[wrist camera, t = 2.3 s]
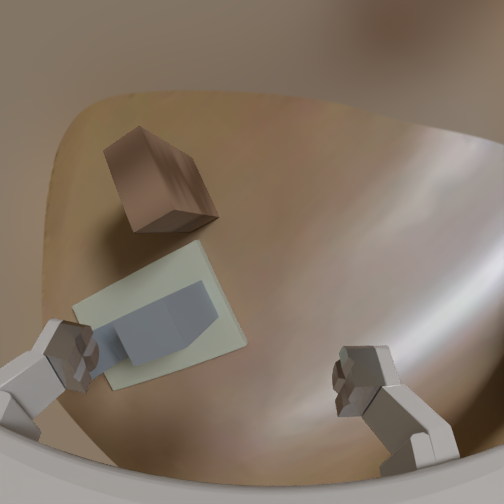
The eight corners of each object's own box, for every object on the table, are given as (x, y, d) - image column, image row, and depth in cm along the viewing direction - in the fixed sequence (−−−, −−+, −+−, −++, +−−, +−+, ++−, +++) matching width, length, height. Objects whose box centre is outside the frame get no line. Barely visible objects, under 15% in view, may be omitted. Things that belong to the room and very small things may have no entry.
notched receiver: (247, 342, 28) (223, 386, 19) (118, 387, 31) (70, 424, 22) (199, 240, 28) (153, 243, 20) (77, 304, 31) (19, 323, 22)
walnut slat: (219, 217, 28) (174, 209, 18) (190, 232, 29) (133, 232, 19) (192, 157, 28) (139, 125, 18) (164, 173, 29) (103, 150, 19)
